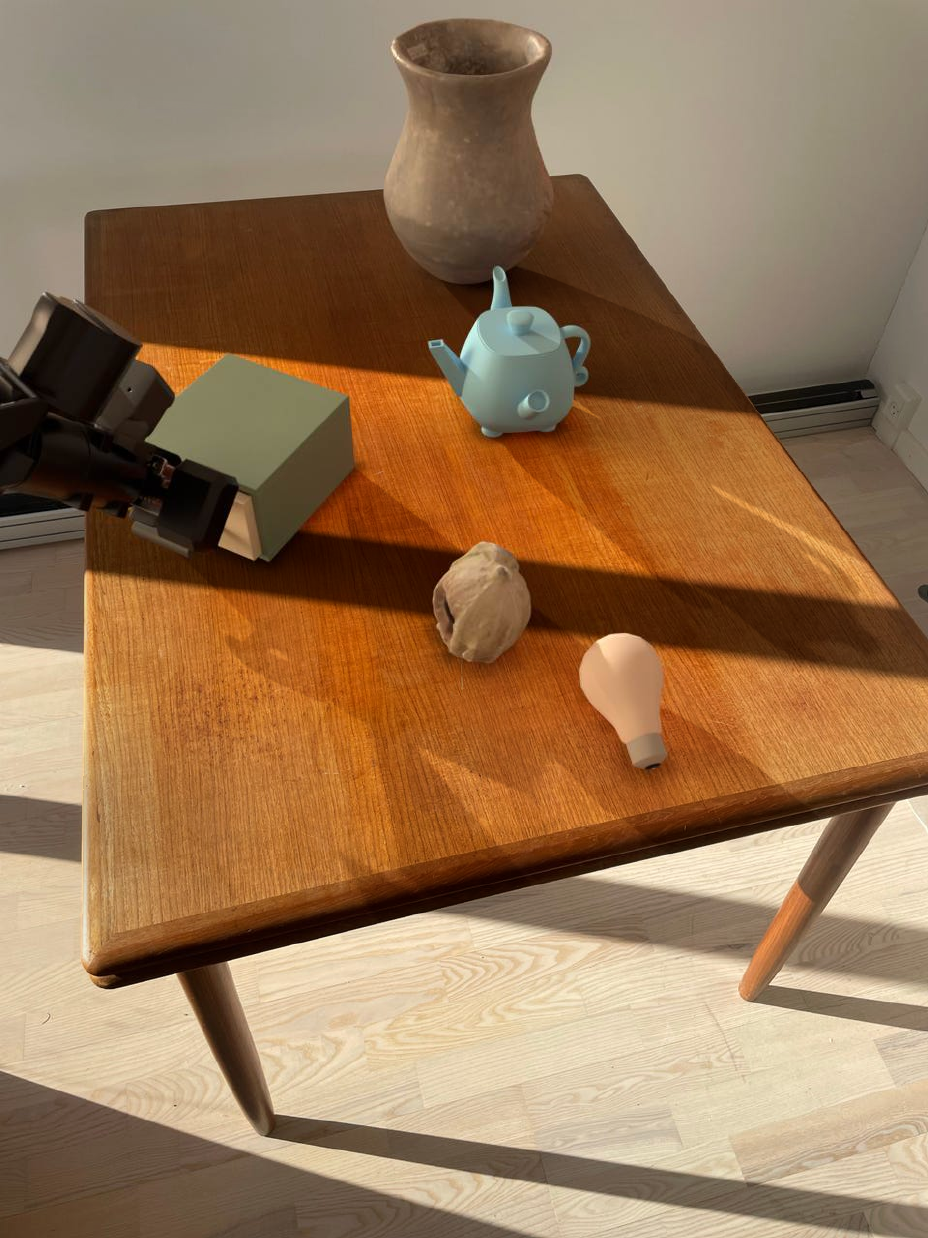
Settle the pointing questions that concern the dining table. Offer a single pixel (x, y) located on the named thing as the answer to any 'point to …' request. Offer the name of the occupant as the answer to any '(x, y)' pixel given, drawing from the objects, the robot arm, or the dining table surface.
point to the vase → (469, 148)
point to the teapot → (515, 366)
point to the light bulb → (627, 693)
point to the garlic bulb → (482, 604)
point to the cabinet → (264, 440)
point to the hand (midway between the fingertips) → (184, 490)
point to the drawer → (235, 536)
